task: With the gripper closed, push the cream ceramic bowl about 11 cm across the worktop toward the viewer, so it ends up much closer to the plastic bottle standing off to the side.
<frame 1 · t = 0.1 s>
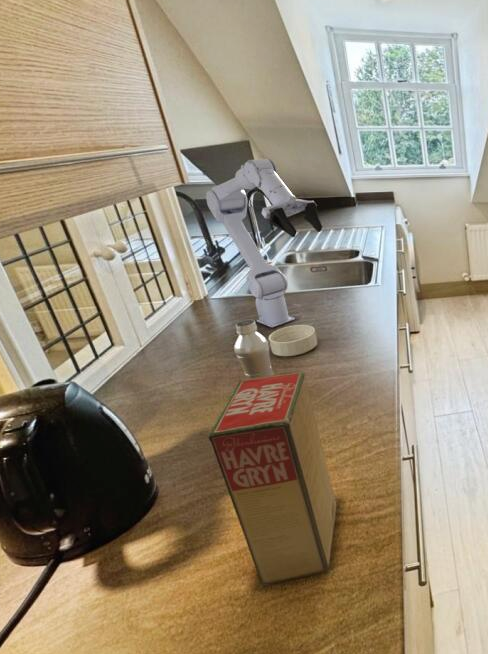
hand: (307, 231, 119), 32 cm above the countertop, tool tilted 50°, fingers open, 7 cm apart
bowl: (295, 347, 128), on the countertop
food packaging: (302, 541, 68), on the countertop
plastic bottle: (267, 404, 102), on the countertop
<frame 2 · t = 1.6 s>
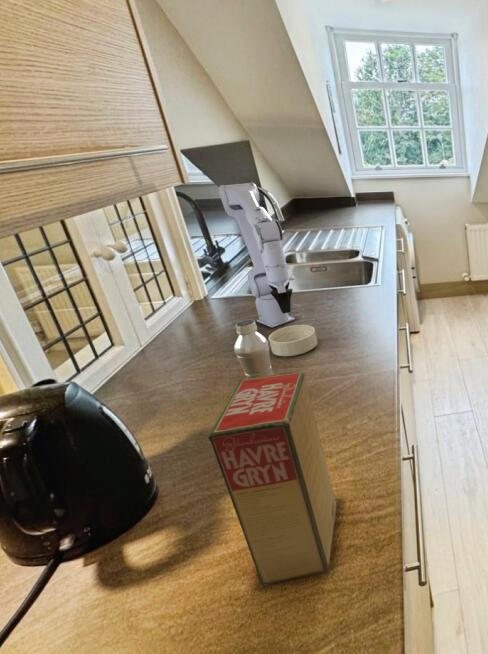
hand: (285, 308, 133), 8 cm above the countertop, tool pointing down, fingers open, 6 cm apart
nothing on the countertop moved.
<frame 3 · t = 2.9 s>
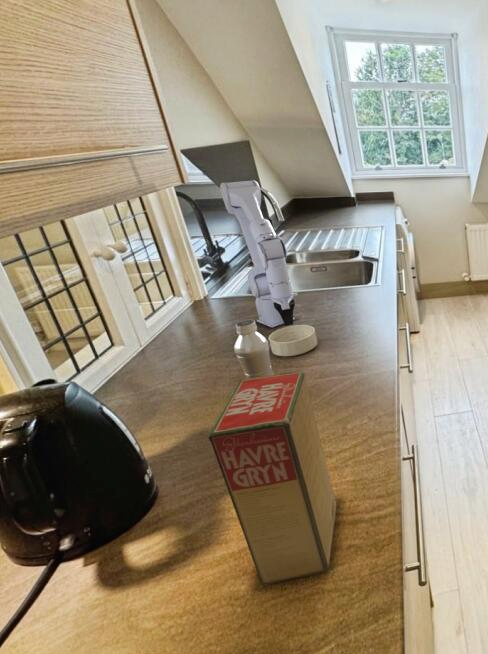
hand: (289, 324, 135), 3 cm above the countertop, tool pointing down, fingers closed
nothing on the countertop moved.
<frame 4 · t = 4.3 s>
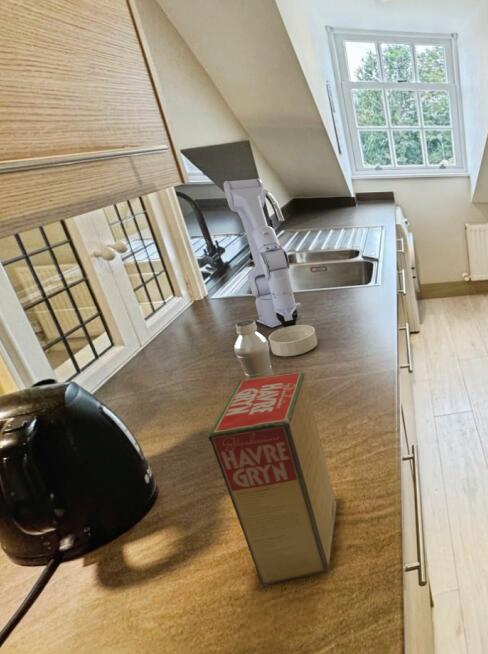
hand: (291, 334, 134), 1 cm above the countertop, tool pointing down, fingers closed
bowl: (295, 347, 128), on the countertop, touching gripper
everything else where it was.
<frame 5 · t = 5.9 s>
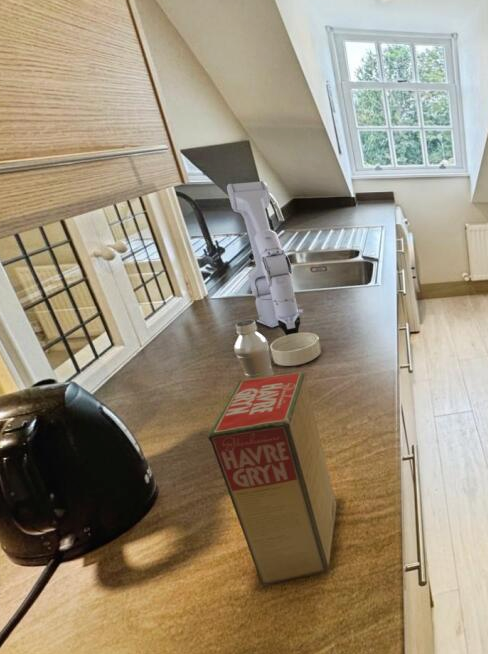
hand: (294, 342, 129), 1 cm above the countertop, tool pointing down, fingers closed
bowl: (297, 356, 123), on the countertop, touching gripper
everything else where it was.
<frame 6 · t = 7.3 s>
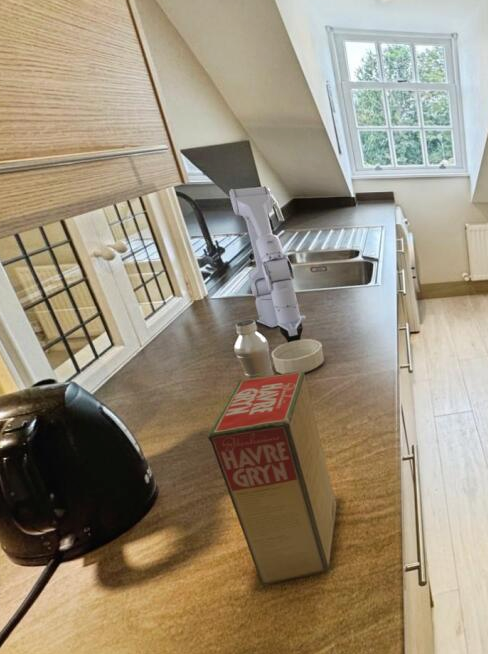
hand: (296, 350, 125), 1 cm above the countertop, tool pointing down, fingers closed
bowl: (300, 364, 119), on the countertop, touching gripper
everything else where it was.
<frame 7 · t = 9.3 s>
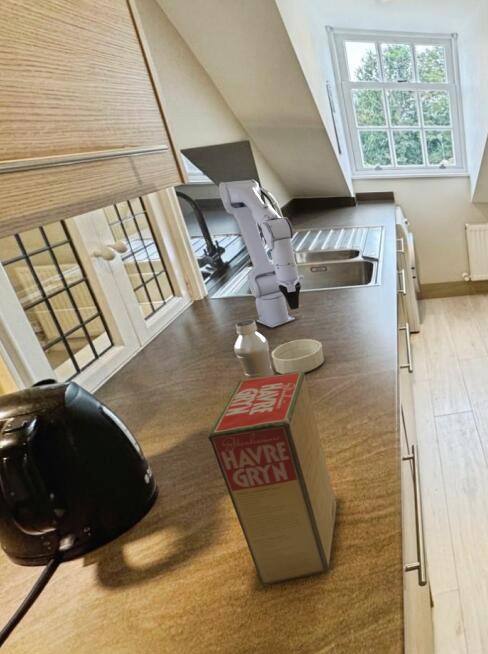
hand: (294, 308, 131), 9 cm above the countertop, tool pointing down, fingers closed
bowl: (300, 364, 119), on the countertop
everything else where it was.
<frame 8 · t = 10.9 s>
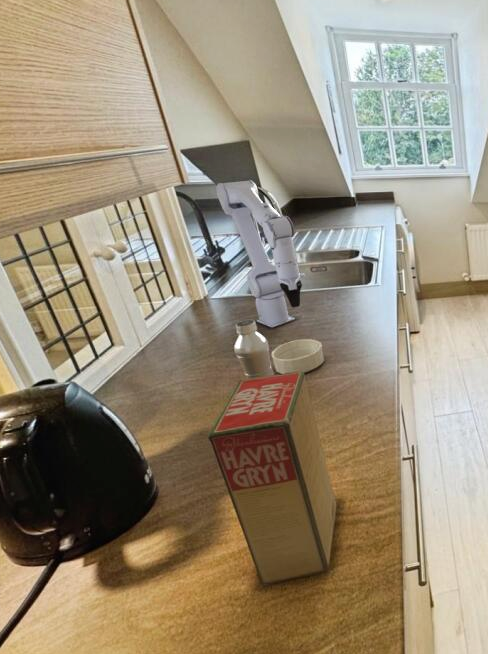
hand: (295, 306, 132), 9 cm above the countertop, tool pointing down, fingers closed
nothing on the countertop moved.
at the end: bowl moved 11.5 cm from its start; bowl 18.4 cm from the plastic bottle (horizontally); bowl tilted 0° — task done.
